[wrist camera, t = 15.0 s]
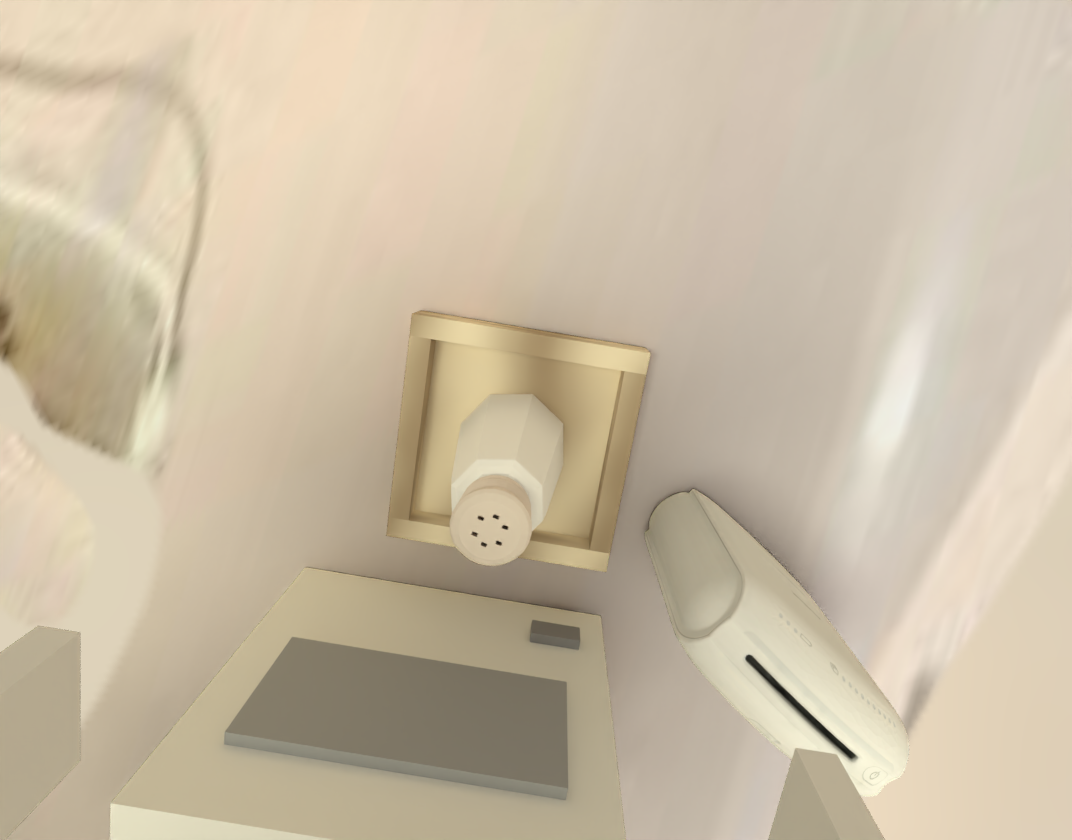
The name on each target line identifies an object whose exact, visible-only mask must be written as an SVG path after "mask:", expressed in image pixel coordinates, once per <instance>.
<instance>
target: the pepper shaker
mask: <svg viewBox="0 0 1072 840" xmlns="http://www.w3.org/2000/svg"><path fill="white" fill-rule="evenodd" d="M562 467H563V423H562V422H561V421H560V420H559V419H558V418H557V417H556V416H555V415H554V414H553V413H552V412H551V411H550V410H549V409H548V408H547V407H546V406H545V405H544V404H543V403H542V402H541V401H540V400H538V399H537V398H536V397H535V396H534V395H533V394H490V395H489V396H488V397H487V398H486V399H485V400H484V401H483V402H482V403H481V404H480V405H479V406H478V407H477V408H476V409H475V410H474V411H473V412H472V413H471V414H470V415H469V416H468V417H467V418H466V419H465V420H464V421H463V422H462V423H461V426H460V432H459V438H458V443H457V449H456V455H455V460H454V466H453V472H452V477H451V504H452V515H451V519H450V535H451V538H452V541H453V543H454V545H455V546H456V548H457V549H458V551H459V552H460V553H461V554H462V555H464V556H465V557H466V558H467V559H469V560H471V561H473V562H475V563H477V564H481V565H485V566H499V565H503V564H507V563H509V562H511V561H513V560H515V559H516V558H517V557H519V556H520V555H521V554H522V553H523V552H524V550H525V549H526V547H527V546H528V544H529V541H530V538H531V534H532V531H533V530H534V529H535V528H536V527H537V526H538V525H539V524H540V523H541V522H542V521H543V519H544V517H545V515H546V513H547V510H548V507H549V504H550V501H551V498H552V496H553V493H554V490H555V487H556V484H557V481H558V478H559V475H560V473H561V470H562Z"/></svg>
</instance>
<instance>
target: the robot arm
mask: <svg viewBox="0 0 1072 840" xmlns="http://www.w3.org/2000/svg"><path fill="white" fill-rule="evenodd" d="M79 762H80V632H75V631H69V630H63V629H56V628H50V627H44V626H37V627H36V628H34V629H33V630H31V631H30V632H29V633H27V634H26V635H24V636H23V637H22V638H20V639H19V640H17V641H16V642H14V643H13V644H12V645H10V646H9V647H7V648H6V649H5V650H3V651H2V652H0V840H5V839H6V838H7V837H8V836H9V835H10V834H11V833H12V832H13V831H14V830H15V829H16V828H17V827H18V826H19V825H20V824H21V823H22V821H23V820H24V819H25V818H26V817H27V816H28V815H29V814H30V813H31V812H32V811H33V810H34V809H35V808H36V807H37V806H38V805H39V804H40V803H41V801H42V800H43V799H44V798H45V797H46V796H47V795H48V794H49V793H50V792H51V791H52V790H53V789H54V788H55V787H56V786H57V785H58V784H59V783H60V782H61V780H62V779H63V778H64V777H65V776H66V775H67V774H68V773H69V772H70V771H71V770H72V769H73V768H74V767H75V766H76V765H77V764H78V763H79ZM768 840H885V839H884V837H883V835H882V834H881V832H880V830H879V828H878V826H877V825H876V823H875V821H874V819H873V818H872V816H871V814H870V812H869V810H868V809H867V807H866V805H865V803H864V802H863V800H862V798H861V796H860V794H859V793H858V791H857V789H856V787H855V786H854V784H853V782H852V780H851V779H850V777H849V775H848V773H847V771H846V770H845V768H844V766H843V764H842V763H841V761H840V759H839V757H838V756H837V754H832V753H826V752H820V751H813V750H807V749H801V748H795V751H794V754H793V758H792V761H791V764H790V768H789V771H788V774H787V778H786V781H785V785H784V788H783V791H782V795H781V798H780V801H779V805H778V808H777V812H776V815H775V818H774V822H773V825H772V828H771V832H770V835H769V839H768Z"/></svg>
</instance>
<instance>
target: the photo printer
mask: <svg viewBox="0 0 1072 840" xmlns="http://www.w3.org/2000/svg"><path fill="white" fill-rule="evenodd" d="M644 535H645V541H646V545H647V548H648V551H649V554H650V556H651V560H652V563H653V566H654V569H655V572H656V575H657V578H658V582H659V585H660V588H661V591H662V594H663V597H664V600H665V604H666V607H667V610H668V613H669V616H670V620H671V623H672V626H673V629H674V632H675V635H676V636H677V638H678V640H679V642H680V643H681V645H682V646H683V648H684V649H685V651H686V653H687V655H688V656H689V658H690V659H691V661H692V662H693V663H694V665H695V666H696V667H697V668H698V669H699V671H700V672H701V673H702V674H703V675H704V676H705V677H706V678H707V680H708V681H709V682H710V683H711V684H712V685H713V686H714V687H715V688H716V689H717V690H718V692H719V693H720V694H721V695H722V696H723V697H724V698H725V699H726V700H727V701H728V702H729V703H730V704H731V705H732V706H733V707H734V708H735V709H736V710H737V711H738V712H739V713H740V714H741V715H742V716H743V717H744V718H745V719H746V720H747V721H748V722H749V723H750V724H751V725H753V726H754V727H755V728H756V729H757V730H758V731H759V732H760V733H761V734H762V735H763V736H764V737H765V738H767V739H768V740H769V741H770V742H771V743H772V744H773V745H774V746H776V747H777V748H778V749H779V750H780V751H781V752H782V753H784V754H785V755H786V756H787V757H789V758H790V759H791V760H792V758H793V754H794V751H795V748H801V749H807V750H813V751H820V752H826V753H832V754H837V756H838V757H839V759H840V761H841V763H842V764H843V766H844V768H845V770H846V771H847V773H848V775H849V777H850V779H851V780H852V782H853V784H854V786H855V787H856V789H857V791H858V793H859V794H860V796H866V797H872V796H876V795H878V794H879V792H880V791H881V790H882V788H883V787H884V786H885V785H886V784H888V783H889V782H890V781H892V780H895V779H898V778H900V777H901V775H902V774H903V772H904V770H905V768H906V764H907V761H908V755H909V741H908V736H907V732H906V729H905V727H904V725H903V723H902V721H901V719H900V717H899V716H898V714H897V713H896V711H895V710H894V708H893V707H892V705H891V704H890V702H889V701H888V700H887V698H886V697H885V696H884V694H883V693H882V692H881V690H880V689H879V687H878V686H877V685H876V683H875V682H874V681H873V679H872V678H871V677H870V675H869V674H868V673H867V671H866V670H865V668H864V667H863V666H862V664H861V663H860V662H859V660H858V659H857V658H856V656H855V655H854V654H853V652H852V651H851V650H850V648H849V647H848V646H847V644H846V643H845V641H844V640H843V639H842V637H841V636H840V635H839V633H838V632H837V631H836V629H835V628H834V627H833V625H832V624H831V623H830V621H829V620H828V619H827V617H826V616H825V615H824V613H823V612H822V611H821V609H820V608H819V607H818V606H817V604H816V603H815V602H814V601H813V599H812V598H811V597H810V595H809V594H808V593H807V592H806V591H805V590H804V589H803V587H802V586H801V585H800V584H799V583H798V582H797V581H796V580H795V579H794V578H793V577H792V576H791V575H790V574H789V573H788V572H787V571H786V569H785V568H784V567H783V566H782V565H781V564H780V563H779V562H778V561H777V560H776V559H775V558H774V557H773V556H772V555H771V554H770V553H769V552H768V551H767V550H766V549H765V548H763V547H762V546H761V545H760V544H759V543H758V542H757V541H756V540H755V539H754V538H753V537H752V536H751V535H750V534H749V533H748V532H747V531H746V530H744V529H743V528H742V527H741V526H740V525H739V524H738V523H737V522H736V521H735V520H734V519H733V518H731V517H730V516H729V515H728V514H727V513H726V512H725V511H724V510H722V509H721V508H720V507H719V506H718V505H717V504H716V503H714V502H713V501H712V500H710V499H709V498H708V497H706V496H705V495H703V494H702V493H700V492H698V491H697V490H695V489H692V490H691V491H690V492H689V493H687V492H681V493H677V494H674V495H672V496H670V497H668V498H666V499H665V500H664V501H662V502H661V503H660V504H659V505H658V506H657V507H656V509H655V510H654V512H653V513H652V516H651V518H650V522H649V529H648V530H647V531H646V532H645V533H644Z"/></svg>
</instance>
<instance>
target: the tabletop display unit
mask: <svg viewBox="0 0 1072 840" xmlns="http://www.w3.org/2000/svg"><path fill="white" fill-rule="evenodd" d="M110 840H626V836H625V827H624V818H623V809H622V800H621V791H620V782H619V773H618V764H617V756H616V747H615V738H614V729H613V720H612V711H611V702H610V693H609V684H608V675H607V667H606V658H605V649H604V640H603V631H602V622H601V616H599V615H593V614H587V613H580V612H574V611H568V610H562V609H556V608H550V607H544V606H538V605H532V604H526V603H520V602H514V601H508V600H502V599H496V598H489V597H483V596H477V595H471V594H465V593H459V592H453V591H447V590H441V589H435V588H429V587H423V586H417V585H411V584H404V583H398V582H392V581H386V580H380V579H374V578H368V577H362V576H356V575H350V574H344V573H338V572H332V571H326V570H320V569H313V568H307V567H305V568H304V570H303V571H302V572H301V573H300V574H299V576H298V577H297V578H296V579H295V580H294V582H293V583H292V584H291V585H290V586H289V588H288V589H287V590H286V591H285V593H284V594H283V595H282V596H281V597H280V599H279V600H278V601H277V602H276V603H275V605H274V606H273V607H272V608H271V609H270V611H269V612H268V613H267V614H266V616H265V617H264V618H263V619H262V620H261V622H260V623H259V624H258V625H257V626H256V628H255V629H254V630H253V631H252V632H251V634H250V635H249V636H248V637H247V639H246V640H245V641H244V642H243V643H242V645H241V646H240V647H239V648H238V649H237V651H236V652H235V653H234V654H233V655H232V657H231V658H230V659H229V660H228V662H227V663H226V664H225V665H224V666H223V668H222V669H221V670H220V671H219V672H218V674H217V675H216V676H215V677H214V678H213V680H212V681H211V682H210V683H209V685H208V686H207V687H206V688H205V689H204V691H203V692H202V693H201V694H200V695H199V697H198V698H197V699H196V700H195V701H194V703H193V704H192V705H191V706H190V708H189V709H188V710H187V711H186V712H185V714H184V715H183V716H182V717H181V718H180V720H179V721H178V722H177V723H176V724H175V726H174V727H173V728H172V729H171V731H170V732H169V733H168V734H167V735H166V737H165V738H164V739H163V740H162V741H161V743H160V744H159V745H158V746H157V747H156V749H155V750H154V751H153V752H152V754H151V755H150V756H149V757H148V758H147V760H146V761H145V762H144V763H143V764H142V766H141V767H140V768H139V769H138V770H137V772H136V773H135V774H134V775H133V776H132V778H131V779H130V780H129V781H128V783H127V784H126V785H125V786H124V787H123V789H122V790H121V791H120V792H119V793H118V795H117V796H116V797H115V798H114V799H113V801H112V802H111V803H110Z"/></svg>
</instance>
